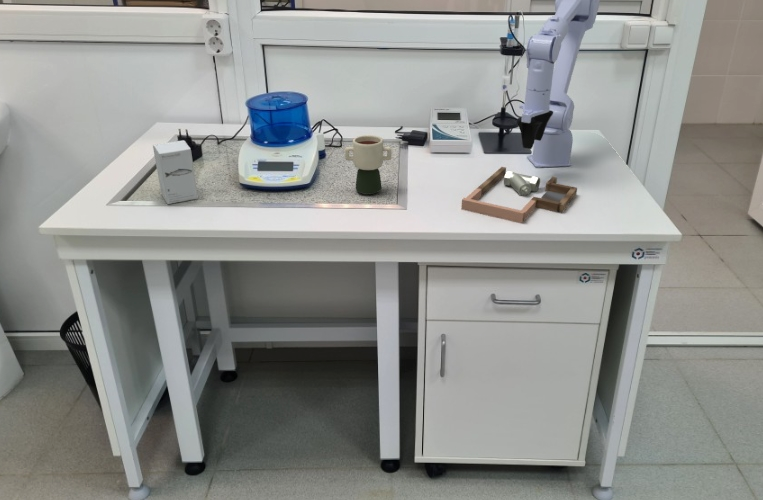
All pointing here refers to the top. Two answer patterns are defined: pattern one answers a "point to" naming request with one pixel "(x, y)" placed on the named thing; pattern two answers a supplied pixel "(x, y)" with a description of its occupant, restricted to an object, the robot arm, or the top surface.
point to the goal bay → (496, 208)
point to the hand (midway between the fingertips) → (532, 143)
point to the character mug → (368, 162)
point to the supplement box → (175, 171)
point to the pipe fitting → (522, 182)
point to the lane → (551, 200)
